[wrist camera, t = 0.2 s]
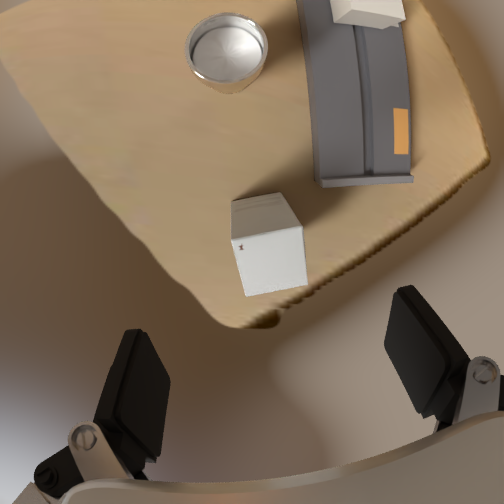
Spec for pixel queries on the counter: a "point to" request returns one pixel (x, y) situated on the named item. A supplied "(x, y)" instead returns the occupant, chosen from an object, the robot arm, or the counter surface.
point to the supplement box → (268, 244)
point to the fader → (368, 12)
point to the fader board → (356, 99)
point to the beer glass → (226, 51)
